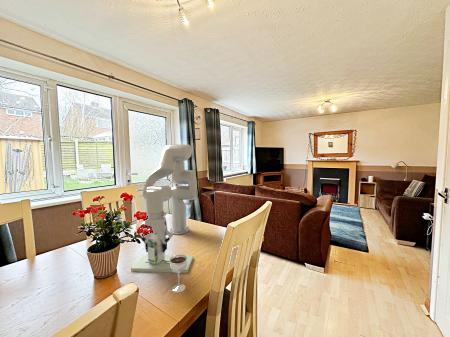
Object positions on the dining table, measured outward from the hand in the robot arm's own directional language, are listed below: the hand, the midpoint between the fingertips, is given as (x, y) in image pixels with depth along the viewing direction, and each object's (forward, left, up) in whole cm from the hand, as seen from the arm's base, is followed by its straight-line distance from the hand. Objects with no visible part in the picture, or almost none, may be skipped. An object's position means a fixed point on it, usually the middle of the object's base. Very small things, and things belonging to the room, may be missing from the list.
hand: (156, 250), depth 94 cm
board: (0, +4, -7) cm, 8 cm away
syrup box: (0, 0, -5) cm, 5 cm away
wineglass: (+16, +16, -7) cm, 24 cm away
